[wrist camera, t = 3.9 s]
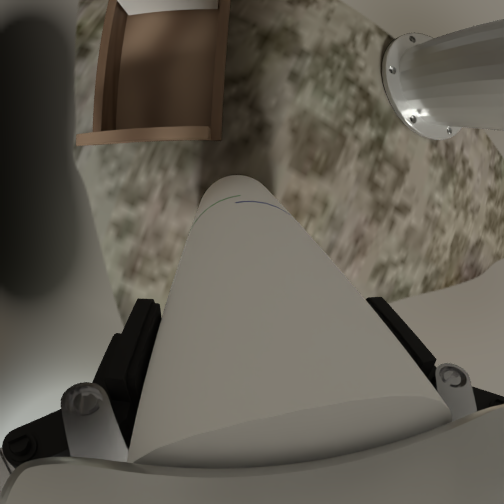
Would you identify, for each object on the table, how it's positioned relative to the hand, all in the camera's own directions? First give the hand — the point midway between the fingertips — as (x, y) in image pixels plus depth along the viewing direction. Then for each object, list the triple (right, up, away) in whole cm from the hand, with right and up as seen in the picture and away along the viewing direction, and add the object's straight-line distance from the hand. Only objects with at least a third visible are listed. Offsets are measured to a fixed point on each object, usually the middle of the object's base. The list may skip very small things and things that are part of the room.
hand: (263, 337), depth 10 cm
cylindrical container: (-2, +7, +18) cm, 19 cm away
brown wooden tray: (-8, +21, +11) cm, 25 cm away
